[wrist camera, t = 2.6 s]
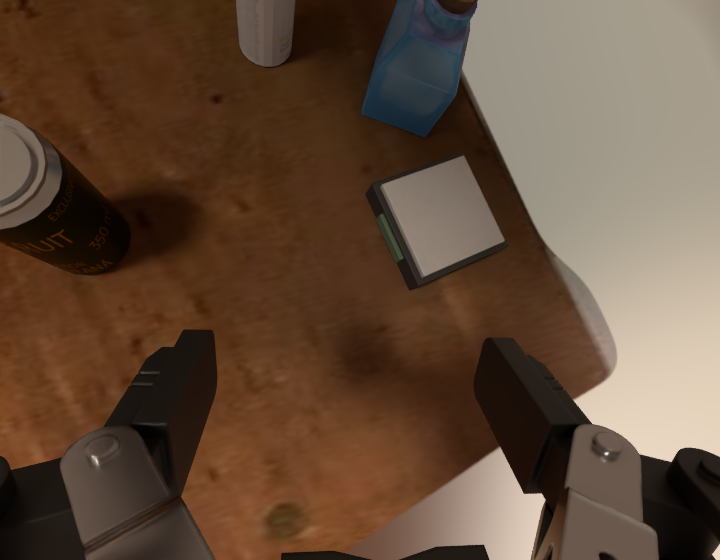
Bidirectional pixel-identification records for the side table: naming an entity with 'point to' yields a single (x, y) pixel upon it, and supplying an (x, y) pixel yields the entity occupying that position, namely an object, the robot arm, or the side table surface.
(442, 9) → the perfume bottle
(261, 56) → the bottle
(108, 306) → the side table surface
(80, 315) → the side table surface
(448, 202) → the kitchen scale
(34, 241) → the beer can
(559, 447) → the robot arm
